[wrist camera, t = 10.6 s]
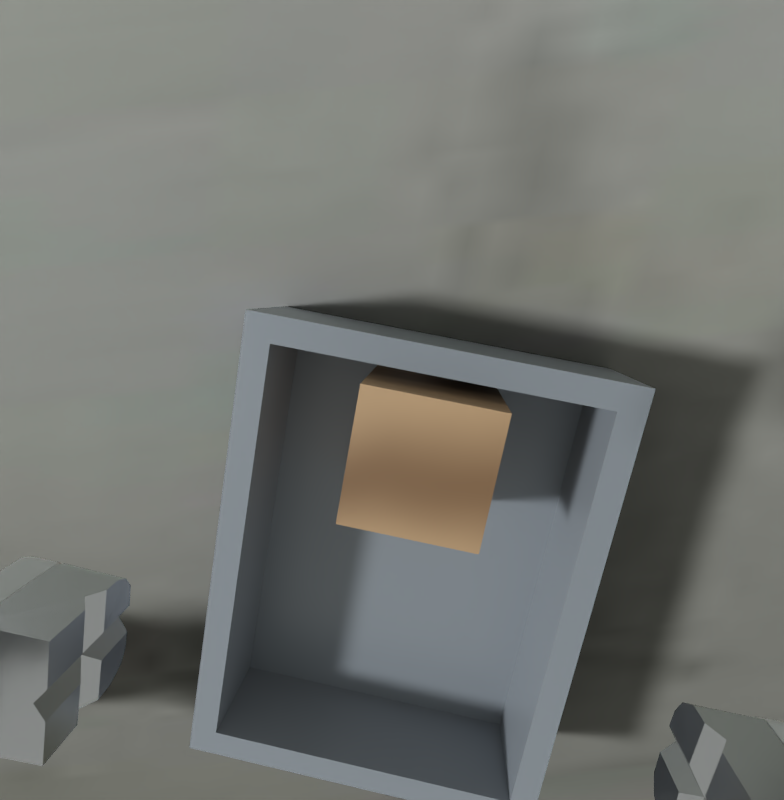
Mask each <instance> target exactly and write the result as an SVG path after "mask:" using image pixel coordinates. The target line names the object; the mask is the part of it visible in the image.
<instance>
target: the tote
mask: <svg viewBox="0 0 784 800" xmlns="http://www.w3.org/2000/svg"><path fill="white" fill-rule="evenodd" d="M377 365H381V366H386V367H391V368H397V369H402V370H407V371H412V372H417V373H422V374H427V375H432V376H437V377H442V378H447V379H453V380H458V381H463V382H468V383H473V384H478V385H483V386H488V387H493V388H497V389H498V391H499V392H500V394H501V396H502V398H503V399H504V401H505V403H506V404H507V406H508V408H509V410H510V411H511V413H512V415H511V420H510V424H509V428H508V432H507V437H506V441H505V445H504V449H503V454H502V458H501V462H500V466H499V471H498V475H497V479H496V483H495V488H494V492H493V496H492V500H491V505H490V509H489V513H488V518H487V522H486V526H485V530H484V535H483V539H482V543H481V547H480V552H479V554H474V553H470V552H465V551H460V550H456V549H451V548H446V547H441V546H437V545H432V544H427V543H423V542H418V541H413V540H409V539H404V538H399V537H395V536H390V535H385V534H380V533H376V532H371V531H366V530H362V529H357V528H352V527H348V526H343V525H338V524H336V519H337V514H338V508H339V502H340V496H341V491H342V485H343V479H344V474H345V468H346V462H347V456H348V451H349V445H350V439H351V434H352V428H353V422H354V416H355V411H356V405H357V399H358V394H359V388H360V383H361V382H362V381H363V380H364V379H365V378H366V377H367V376H368V375H369V374H370V373H371V372H372V370H373V369H374V368H375V367H376V366H377ZM655 390H656V389H655V388H653V387H651V386H648V385H646V384H644V383H642V382H639V381H637V380H635V379H632V378H630V377H628V376H626V375H623V374H621V373H619V372H617V371H614V370H612V369H609V368H604V367H599V366H593V365H588V364H583V363H578V362H573V361H567V360H562V359H557V358H552V357H547V356H541V355H536V354H531V353H526V352H521V351H515V350H510V349H505V348H500V347H495V346H489V345H484V344H479V343H474V342H469V341H463V340H458V339H453V338H448V337H443V336H437V335H432V334H427V333H422V332H417V331H411V330H406V329H401V328H396V327H391V326H385V325H380V324H375V323H370V322H365V321H359V320H354V319H349V318H344V317H339V316H333V315H328V314H323V313H318V312H313V311H307V310H302V309H297V308H292V307H287V306H286V307H272V308H258V309H246V311H245V319H244V327H243V334H242V342H241V350H240V358H239V366H238V373H237V381H236V389H235V397H234V405H233V412H232V420H231V428H230V436H229V444H228V451H227V459H226V467H225V475H224V483H223V490H222V498H221V506H220V514H219V522H218V529H217V537H216V545H215V553H214V561H213V568H212V576H211V584H210V592H209V600H208V607H207V615H206V623H205V631H204V639H203V646H202V654H201V662H200V670H199V678H198V685H197V693H196V701H195V709H194V717H193V724H192V732H191V740H190V748H193V749H197V750H201V751H205V752H210V753H214V754H218V755H222V756H226V757H231V758H235V759H239V760H243V761H247V762H251V763H256V764H260V765H264V766H268V767H272V768H277V769H281V770H285V771H289V772H293V773H297V774H302V775H306V776H310V777H314V778H318V779H323V780H327V781H331V782H335V783H339V784H344V785H348V786H352V787H356V788H360V789H364V790H369V791H373V792H377V793H381V794H385V795H390V796H394V797H398V798H402V799H406V800H538V797H539V793H540V790H541V786H542V783H543V779H544V776H545V772H546V769H547V766H548V762H549V759H550V755H551V752H552V748H553V745H554V741H555V738H556V734H557V731H558V727H559V724H560V720H561V717H562V713H563V710H564V706H565V703H566V699H567V696H568V692H569V689H570V685H571V682H572V678H573V675H574V672H575V668H576V665H577V661H578V658H579V654H580V651H581V647H582V644H583V640H584V637H585V633H586V630H587V626H588V623H589V619H590V616H591V612H592V609H593V605H594V602H595V598H596V595H597V591H598V588H599V585H600V581H601V578H602V574H603V571H604V567H605V564H606V560H607V557H608V553H609V550H610V546H611V543H612V539H613V536H614V532H615V529H616V525H617V522H618V518H619V515H620V511H621V508H622V504H623V501H624V498H625V494H626V491H627V487H628V484H629V480H630V477H631V473H632V470H633V466H634V463H635V459H636V456H637V452H638V449H639V445H640V442H641V438H642V435H643V431H644V428H645V424H646V421H647V417H648V414H649V410H650V407H651V404H652V400H653V397H654V393H655Z"/></svg>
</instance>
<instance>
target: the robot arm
mask: <svg viewBox="0 0 784 800" xmlns="http://www.w3.org/2000/svg"><path fill="white" fill-rule="evenodd" d="M130 587H131V585H130V584H129V582H128V581H127V580H126V578H122V577H118V576H114V575H110V574H106V573H101V572H97V571H93V570H89V569H85V568H81V567H77V566H73V565H69V564H65V563H64V564H62V563H60V562H56V561H52V560H47V559H42V558H38V557H33V556H31V557H22V558H20V559H18V560H17V561H15V562H14V563H12V564H11V565H9V566H7V567H6V568H4V569H3V570H1V571H0V758H5V759H10V760H15V761H20V762H25V763H30V764H35V765H40V766H43V765H44V764H45V763H46V762H47V760H48V759H49V758H50V757H51V756H52V754H53V753H54V752H55V751H56V750H57V748H58V747H59V746H60V745H61V744H62V742H63V741H64V740H65V739H66V738H67V736H68V735H69V734H70V733H71V732H72V731H73V729H74V728H75V727H76V726H77V722H78V710H79V708H81V707H84V706H86V705H88V704H90V703H92V702H94V701H96V700H98V699H99V698H100V697H101V695H102V694H103V693H104V692H105V690H106V689H107V688H108V687H109V685H110V684H111V682H112V680H113V678H114V676H115V674H116V672H117V670H118V668H119V666H120V664H121V662H122V658H123V655H124V651H125V647H126V639H127V630H126V629H125V627H124V625H123V623H122V622H121V620H120V618H119V616H120V615H121V614H122V613H123V612H124V611H125V609H126V608H127V607H128V606H129V605H130ZM670 728H671V731H672V733H673V735H674V738H675V740H676V741H675V742H674V743H672V744H671V745H670V746H668V747H667V748H665V749H664V750H662V751H661V752H660V755H659V758H658V761H657V765H656V768H655V771H654V797H655V800H784V722H782V721H777V720H771V719H766V718H761V717H750V716H746V715H741V714H736V713H731V712H727V711H722V710H717V709H712V708H707V707H703V706H698V705H693V704H688V703H683V702H682V703H681V705H680V706H679V707H678V708H677V709H676V710H675V712H674V715H673V717H672V720H671V723H670Z"/></svg>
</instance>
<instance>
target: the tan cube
mask: <svg viewBox="0 0 784 800" xmlns="http://www.w3.org/2000/svg"><path fill="white" fill-rule="evenodd" d="M511 415H512V413H511V411H510V410H509V408H508V406H507V404H506V403H505V401H504V399H503V398H502V396H501V394H500V392H499V391H498V389H497V388H493V387H488V386H483V385H478V384H473V383H468V382H463V381H458V380H453V379H447V378H442V377H437V376H432V375H427V374H422V373H417V372H412V371H407V370H402V369H397V368H391V367H386V366H381V365H377V366H376V367H375V368H374V369H373V370H372V372H371V373H370V374H369V375H368V376H367V377H366V378H365V379H364V380H363V381H362V382H361V383H360V388H359V394H358V399H357V405H356V411H355V416H354V422H353V428H352V434H351V439H350V445H349V451H348V456H347V462H346V468H345V474H344V479H343V485H342V491H341V496H340V502H339V508H338V514H337V519H336V524H338V525H343V526H348V527H352V528H357V529H362V530H366V531H371V532H376V533H380V534H385V535H390V536H395V537H399V538H404V539H409V540H413V541H418V542H423V543H427V544H432V545H437V546H441V547H446V548H451V549H456V550H460V551H465V552H470V553H474V554H479V552H480V547H481V543H482V539H483V535H484V530H485V526H486V522H487V518H488V513H489V509H490V505H491V500H492V496H493V492H494V488H495V483H496V479H497V475H498V471H499V466H500V462H501V458H502V454H503V449H504V445H505V441H506V437H507V432H508V428H509V424H510V420H511Z"/></svg>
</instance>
